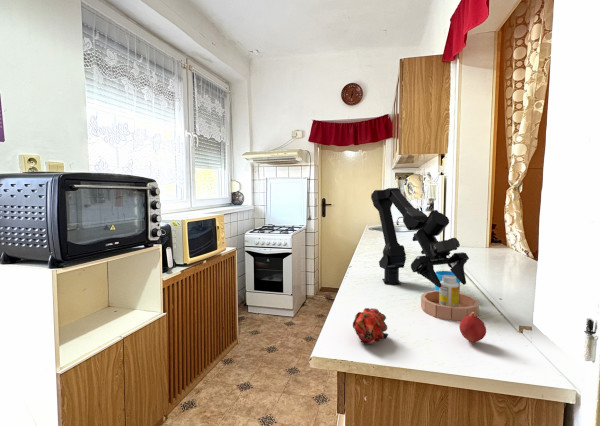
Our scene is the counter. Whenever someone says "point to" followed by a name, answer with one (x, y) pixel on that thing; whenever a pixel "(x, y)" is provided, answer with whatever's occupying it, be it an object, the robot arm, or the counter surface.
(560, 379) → the counter surface
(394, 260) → the robot arm
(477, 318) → the onion
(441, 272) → the mug
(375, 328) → the dragon fruit
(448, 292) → the supplement bottle
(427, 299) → the bowl
